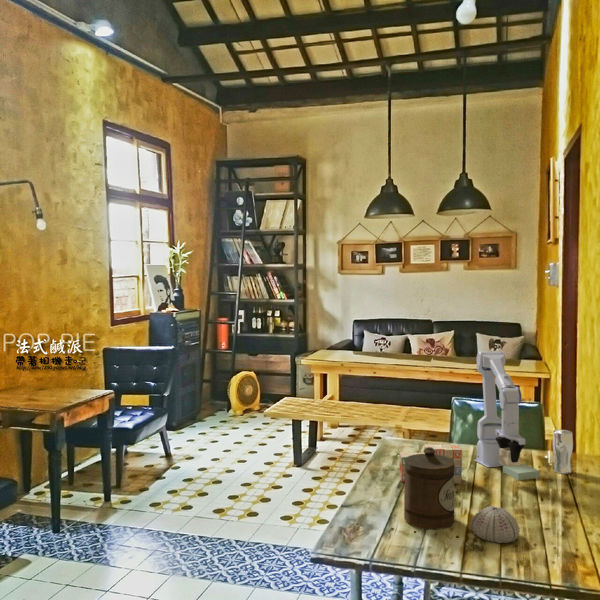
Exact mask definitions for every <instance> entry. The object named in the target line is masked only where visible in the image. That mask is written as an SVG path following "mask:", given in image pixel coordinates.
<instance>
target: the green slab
mask: <svg viewBox="0 0 600 600" xmlns="http://www.w3.org/2000/svg"><path fill="white" fill-rule="evenodd" d="M502 473H503V474H504V473H506V474H508V475H510V476H512V477H514V478H513V479H515V480H517V481H525V480H524V479H526V480H534V479H539V478H540V470H539V469H537V468H534V467H532V466H530V465H528V464H526V463H520V465H518V466H509V467H508V466H506V465H505V466H502ZM506 474H505V475H506ZM508 475H507V476H508ZM510 476H509V477H510ZM512 477H511V478H512Z"/></svg>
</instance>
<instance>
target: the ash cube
mask: <svg viewBox="0 0 600 600" xmlns="http://www.w3.org/2000/svg"><path fill="white" fill-rule="evenodd" d="M499 462H500V463H502V464H504V465H505V466H508V467H509V466H518V465H520V464H521V454H520V455H519V459H518V462H512V461H511V453H510V448H500V449H499Z"/></svg>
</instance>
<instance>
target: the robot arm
mask: <svg viewBox="0 0 600 600" xmlns="http://www.w3.org/2000/svg"><path fill="white" fill-rule="evenodd" d="M506 360H507V359H506V354H505V352H504V351H502V350H501V351H494V350H493V351H481V350H479V351H478V352H477V354H476V370H477V373H480V374H481V378H482V379H481V380H482V381H481V382H482V394H483V411H484V412H483V413H484V415H483V416H482V417H481V418H480V419H478V420H477V427H476V434H477V439H479V440H478V441H477V443H476V459H474V461H475V462H477V463H478V464H480V465H483V466H485V467H486V468H496V467H503V466H506V465H504V464H502V463H500V462H499V449H500V448H510V453H511V461H512V462H518V459H519V455H520V456H521V452H522V450H523V448H524V447H525V446H526V438H524V437H523V436H522V435H520V433H519V429H520V427H519V424H520V422H519V419H520V415H519V414H520V407H519V406H520V404H522V399H523V398H522V390H521V388H520V387H518V386H515V383H514V381H513V378H512V377H511V375H509V374H508V373H506V369H505V365H506ZM496 387H497V389H496ZM496 390H498V392H499V394H498V396H499V397H498V398H499V404H500V405H499V407H500V409H501V417H499V416H498V409H497V393H496Z"/></svg>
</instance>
